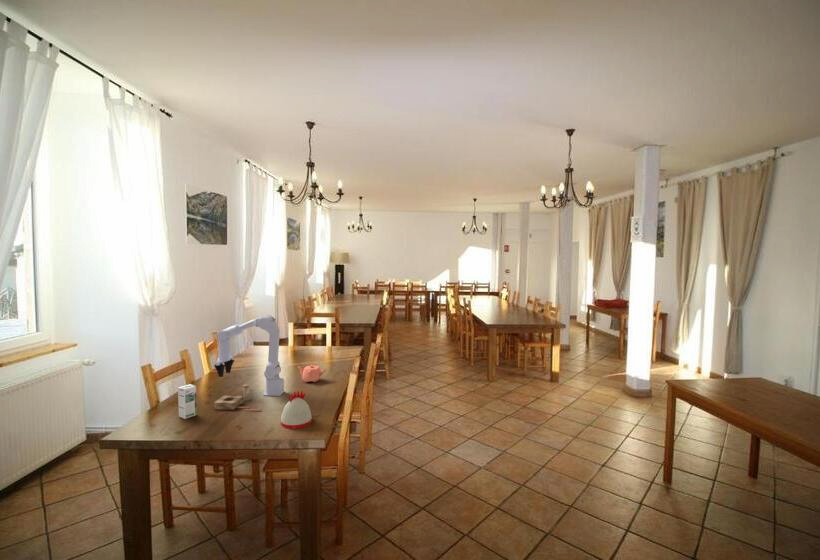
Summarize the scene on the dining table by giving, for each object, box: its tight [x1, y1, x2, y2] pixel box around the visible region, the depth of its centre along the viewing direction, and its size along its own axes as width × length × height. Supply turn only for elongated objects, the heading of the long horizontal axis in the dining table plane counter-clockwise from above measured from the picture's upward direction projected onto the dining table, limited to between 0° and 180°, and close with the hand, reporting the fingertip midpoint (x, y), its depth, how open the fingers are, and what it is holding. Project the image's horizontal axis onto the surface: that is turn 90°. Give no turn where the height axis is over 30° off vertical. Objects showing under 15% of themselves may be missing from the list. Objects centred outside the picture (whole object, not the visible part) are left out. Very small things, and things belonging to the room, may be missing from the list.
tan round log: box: [242, 383, 250, 402], centre depth 209 cm, size 3×3×8 cm
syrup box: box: [177, 383, 198, 420], centre depth 186 cm, size 6×6×14 cm
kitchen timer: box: [280, 389, 313, 430], centre depth 181 cm, size 14×14×15 cm
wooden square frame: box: [213, 395, 244, 411], centre depth 200 cm, size 10×10×4 cm
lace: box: [235, 406, 263, 412], centre depth 196 cm, size 15×4×1 cm, turn 88°
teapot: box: [297, 364, 327, 383], centre depth 243 cm, size 14×12×10 cm
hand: (224, 374), depth 220 cm, fingers open, 7 cm apart
